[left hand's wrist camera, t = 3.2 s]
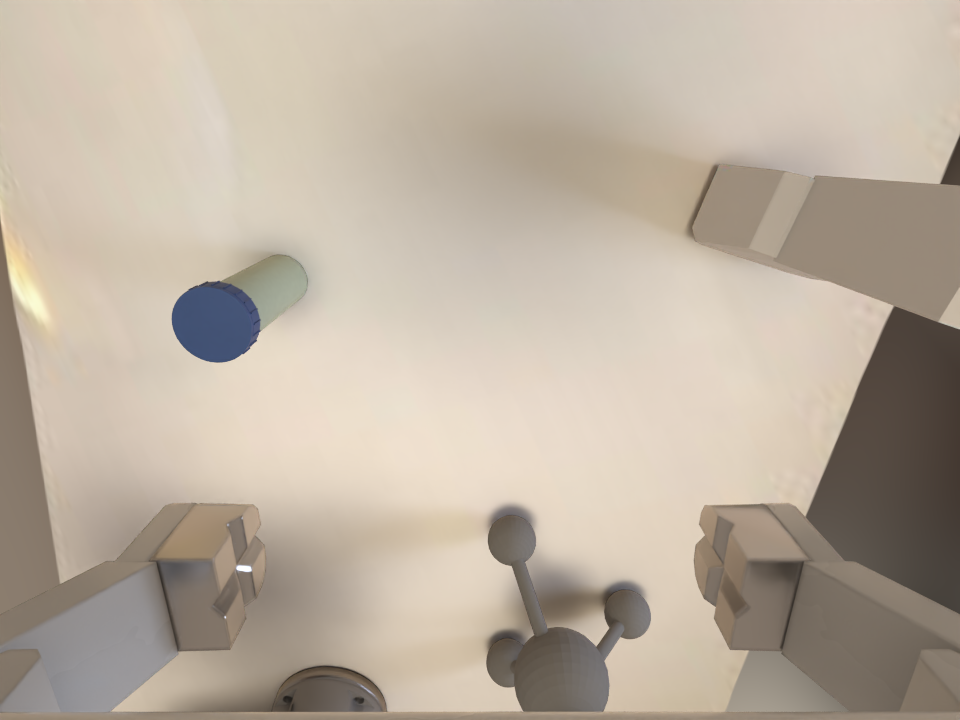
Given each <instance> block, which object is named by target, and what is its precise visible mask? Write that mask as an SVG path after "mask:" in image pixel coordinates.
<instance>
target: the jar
mask: <svg viewBox="0 0 960 720" xmlns="http://www.w3.org/2000/svg"><path fill="white" fill-rule="evenodd" d="M220 282H224V283H228V284H230V283H231V284H232V285H233V286H235V287H237V288H239V289H242V290H243V292H245V293H246V294H247V295H248V296H249V297H250V298H252V299H251V300H252V301H253V302H254V304H255V306H256V308H258V313H259V317H260V319H261V321H260V330H261V331H262V330H263V329H264V328H265V327H266V326H268V325H269V324H270V323H271V322H273V321H274V320H275V319H276V318H277V317H279V316H280V315H281V314H282V313H284V312H285V311H286V310H287V309H288V308H290V307H291V306H292V305H293V304H295V303H296V302H297V301H298V300H299V299H301V298H302V297H303V295H304V294H305V292H306V289H307V276H306V273H305V271H304V269H303V267H302V266H301V265H300V264H299V263H298V262H297V261H296V260H294V259H293V258H291V257H288V256H284V255H274V256H271V257H269V258H267V259H265V260H263V261H261V262H259V263H257V264H255V265H253V266H251V267H249V268H247V269H245V270H243V271H241V272H239V273H237V274H235V275H233V276H231V277H228V278H226V279H224V280H222V281H220Z"/></svg>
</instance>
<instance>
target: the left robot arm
mask: <svg viewBox="0 0 960 720" xmlns="http://www.w3.org/2000/svg"><path fill="white" fill-rule="evenodd" d="M260 525H261V522H260V517H259V512H258V509H257V508H256V507H255V506H254V505H253V504H210V503H200V504H197V503H172V504H169V505H166V506H165V507H164V508H163V509H162V510H161V511H160V512H159V513H158V514H157V515H156V516H155V518H154V519H153V520H152V521H151V522H150V523H149V524H148V525H147V526H146V528H145V529H144V530H143V531H142V532H141V533H140V534H139V535H138V536H137V538H136V539H135V540H134V541H133V542H132V543H131V544H130V545H129V546H128V548H127V549H126V550H125V551H124V552H123V553H122V554H121V555H120V556H119V558H118V559H117V560H116V561H111V562H104V563H102V564H100V565H98V566H96V567H94V568H92V569H90V570H88V571H86V572H84V573H82V574H80V575H78V576H76V577H74V578H72V579H70V580H68V581H66V582H64V583H62V584H60V585H58V586H56V587H54V588H52V589H50V590H48V591H46V592H44V593H42V594H40V595H38V596H36V597H34V598H32V599H30V600H28V601H26V602H24V603H22V604H20V605H18V606H16V607H14V608H12V609H10V610H8V611H6V612H4V613H2V614H0V720H960V614H958V613H956V612H954V611H952V610H950V609H948V608H946V607H944V606H942V605H940V604H938V603H936V602H934V601H932V600H930V599H928V598H926V597H924V596H922V595H920V594H918V593H916V592H914V591H912V590H910V589H908V588H906V587H904V586H902V585H900V584H898V583H896V582H894V581H892V580H890V579H888V578H886V577H884V576H882V575H880V574H878V573H876V572H874V571H872V570H870V569H868V568H866V567H864V566H862V565H860V564H858V563H856V562H847V561H844V560H843V559H842V558H841V557H840V555H839V554H838V553H837V552H836V551H835V550H834V549H833V548H832V546H831V545H830V544H829V543H828V542H827V541H826V540H825V539H824V538H823V536H822V535H821V534H820V533H819V532H818V531H817V530H816V529H815V528H814V527H813V525H812V524H811V523H810V522H809V521H808V520H807V519H806V518H805V516H804V515H803V514H802V513H801V512H800V511H799V510H798V509H797V508H796V506H794V505H792V504H790V503H767V504H748V505H705V506H704V508H703V510H702V512H701V516H700V522H699V525H700V527H701V529H702V530H703V532H704V534H705V536H704V537H703V538H702V539H701V540H700V541H699V542H698V543H697V544H696V547H695V555H694V568H695V577H696V580H697V584H698V587H699V589H700V591H701V593H702V595H703V598H704V599H705V600H707V601H708V602H710V603H711V604H712V605H714V606H715V607H716V609H715V615H714V620H715V622H716V623H717V625H718V627H719V629H720V631H721V633H722V635H723V637H724V639H725V641H726V643H727V645H728V647H729V649H730V650H756V651H782V655H784V656H785V657H786V658H787V659H788V660H790V661H791V662H792V663H793V664H794V665H795V666H797V667H798V668H799V669H800V670H801V671H803V672H804V673H805V674H806V675H807V676H809V677H810V678H811V679H812V680H813V681H814V682H816V683H817V684H818V685H819V686H820V687H822V688H823V689H824V690H825V691H826V692H827V693H829V694H830V695H831V696H832V697H833V698H835V699H836V700H837V701H838V702H839V703H841V704H842V705H843V706H844V707H845V708H847V709H848V710H849V711H850V712H110V711H111V710H113V709H114V708H115V707H116V706H117V705H118V704H120V703H121V702H122V701H123V700H124V699H126V698H127V697H128V696H129V695H130V694H132V693H133V692H134V691H135V690H136V689H137V688H139V687H140V686H141V685H142V684H143V683H145V682H146V681H147V680H148V679H149V678H151V677H152V676H153V675H154V674H155V673H157V672H158V671H159V670H160V669H161V668H162V667H164V666H165V665H166V664H167V663H168V662H170V661H171V660H172V659H173V658H174V657H176V656H177V655H178V651H204V650H230V649H231V647H232V645H233V643H234V641H235V639H236V637H237V635H238V633H239V631H240V629H241V627H242V625H243V623H244V622H245V620H246V615H245V609H244V607H245V606H246V605H248V604H249V603H250V602H252V601H253V600H255V599H256V598H257V595H258V593H259V591H260V589H261V587H262V584H263V579H264V575H265V571H266V553H265V546H264V544H263V543H262V542H261V541H260V540H259V539H258V538H257V537H256V536H255V534H256V532H257V530H258V529H259V527H260Z"/></svg>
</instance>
